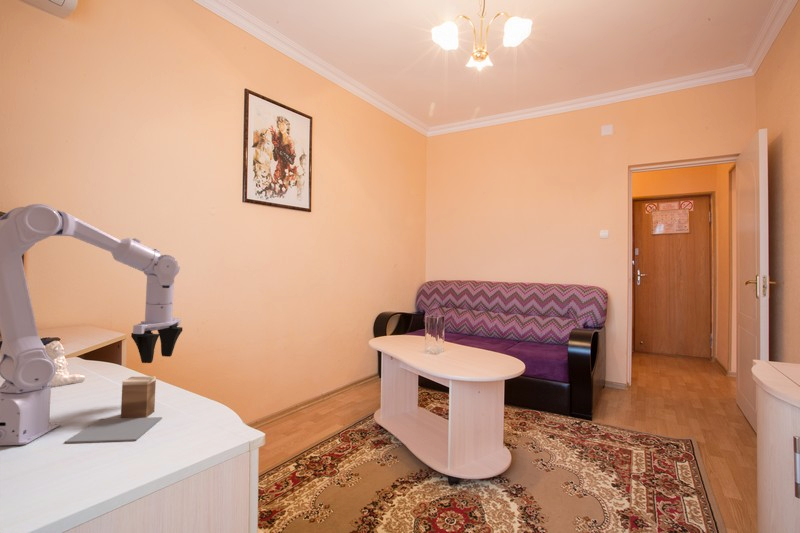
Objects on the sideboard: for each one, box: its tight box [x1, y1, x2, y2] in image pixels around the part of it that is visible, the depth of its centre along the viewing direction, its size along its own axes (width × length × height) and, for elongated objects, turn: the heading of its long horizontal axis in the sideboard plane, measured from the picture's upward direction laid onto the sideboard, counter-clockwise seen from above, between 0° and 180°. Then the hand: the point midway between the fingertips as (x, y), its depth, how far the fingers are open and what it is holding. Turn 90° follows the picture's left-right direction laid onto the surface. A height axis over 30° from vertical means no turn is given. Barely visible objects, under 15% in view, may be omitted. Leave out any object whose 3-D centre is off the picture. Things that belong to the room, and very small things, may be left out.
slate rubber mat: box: [64, 416, 163, 444], centre depth 79 cm, size 11×12×1 cm
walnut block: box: [120, 375, 157, 418], centre depth 87 cm, size 4×5×8 cm
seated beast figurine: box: [44, 340, 86, 388], centre depth 107 cm, size 10×9×12 cm
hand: (157, 359), depth 95 cm, fingers open, 7 cm apart
